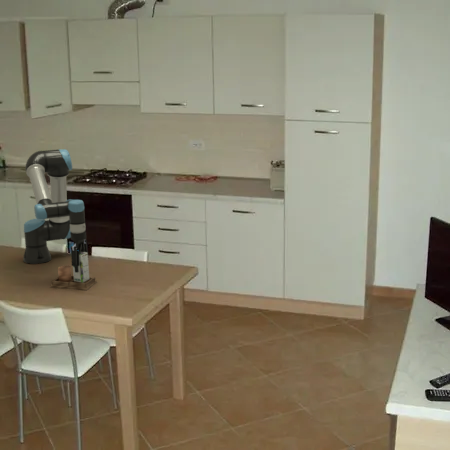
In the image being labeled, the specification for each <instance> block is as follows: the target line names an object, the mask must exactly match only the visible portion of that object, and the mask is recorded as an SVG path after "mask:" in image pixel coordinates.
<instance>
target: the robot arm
mask: <svg viewBox="0 0 450 450" xmlns="http://www.w3.org/2000/svg"><path fill="white" fill-rule="evenodd" d="M24 170H25V172H26V176H27V177H28V178H29V181H30V184H31V188H32V192H33V195H34V199H35V201H36V204H34V210H33V211H34V217H35V218H32V219H29V220H27V221H25V223H24V224H23V233H24V243H25V244H24V245H25V250H24V253H23V262H24V263H25V262H26V263H25V264H28V263H30V264H29V265H36V264H38V263H39V264H44V263H47V262H49V261H51V260H52V255H51V252H50V250H49V247H48V246H47V245H48V244H47V243H48V242H49V241H51V242H52V241H59V240H67V239H70V240H71V241H72V242H73V243H72V245H71V246H70V252H71V255H70V256H71V267H73V266H74V268H75V278H81V273H80V265H79V255H80V252H88V253H89V251H88V239H87V231H86V229H87V228H86V218H85V217H86V214H85V203H84V201H83V200H82V199H71V198H70V199H67V198H68V197H67V195H68V194H67V193H68V192H67V191H68V190H67V189H68V188H67V177H68V176H69V174H70V171H72V170H73V162H72V157H71V155H70V152H69V150H68V149H61V148H58V149H49V150H47V149H46V150H38V151H35V152H33V153H32V154H31V155H30V156H29V157H28V159H27V160H26V162H25V169H24ZM45 173H46V175H47V176H48V177H49V178H50V179H49V180H50V181H49V182H50V183H49V184H50V188H49V186H48V183H47V179H46V176H45ZM49 189H50V190H49ZM47 219H48V220H47Z"/></svg>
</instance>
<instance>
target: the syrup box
mask: <svg viewBox="0 0 450 450" xmlns="http://www.w3.org/2000/svg"><path fill="white" fill-rule="evenodd" d="M79 265H80V273H81V278H75V268H74V266H72V271H73V273H72V274H73V276H74V281H76V282H82V283H83V282H85V281H87V280H89V277H90V271H89V270H90V269H89V268H90V267H89V251H88V252H80V255H79Z"/></svg>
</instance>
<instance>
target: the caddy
mask: <svg viewBox="0 0 450 450" xmlns="http://www.w3.org/2000/svg"><path fill="white" fill-rule="evenodd" d="M57 272H58V274H57V275H58V276H57V277H56V278H55V279H53V280H51V284H50V286H49V288H51V289H63V290H64V289H65V290H75V291H77V290H78V291H88V290H90V289H91V288H92V287H94V286H95V285H96V284H97V283H98V280H96V277H92V276H89V280H87V281H85V282H83V283H82V282H76V281H74V275H72V265H71V266H70V265H61V266H58V268H57Z"/></svg>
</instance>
